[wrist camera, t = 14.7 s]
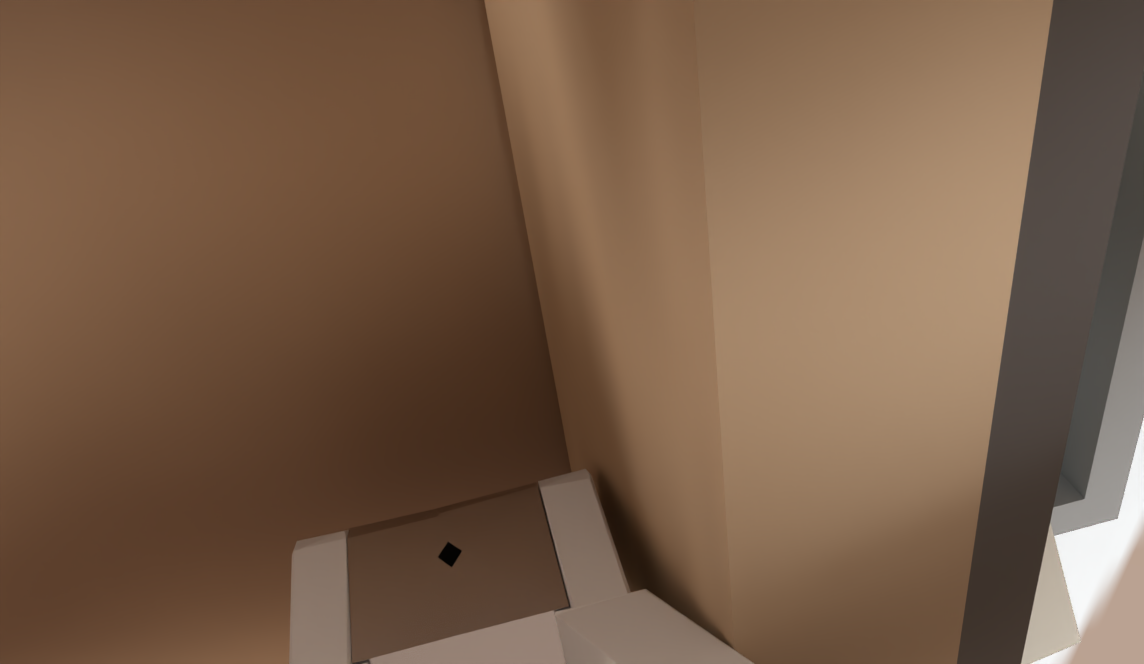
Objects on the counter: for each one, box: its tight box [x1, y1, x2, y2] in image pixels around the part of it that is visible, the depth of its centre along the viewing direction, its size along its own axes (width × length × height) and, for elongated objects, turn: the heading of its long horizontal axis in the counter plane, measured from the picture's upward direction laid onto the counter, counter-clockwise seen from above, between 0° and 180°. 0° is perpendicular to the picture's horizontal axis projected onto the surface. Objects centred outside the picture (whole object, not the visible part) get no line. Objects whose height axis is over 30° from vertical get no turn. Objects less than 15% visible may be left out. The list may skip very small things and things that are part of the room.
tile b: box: [1021, 523, 1081, 664], centre depth 13 cm, size 4×4×2 cm
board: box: [0, 0, 571, 664], centre depth 12 cm, size 12×11×4 cm
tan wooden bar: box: [484, 0, 1144, 664], centre depth 10 cm, size 12×3×4 cm, turn 8°
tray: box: [1050, 71, 1144, 536], centre depth 14 cm, size 12×7×2 cm, turn 8°
